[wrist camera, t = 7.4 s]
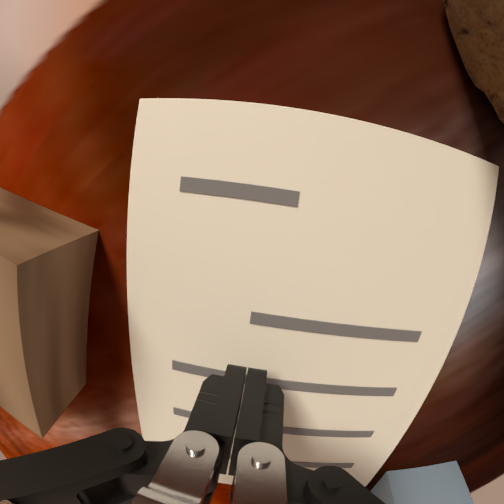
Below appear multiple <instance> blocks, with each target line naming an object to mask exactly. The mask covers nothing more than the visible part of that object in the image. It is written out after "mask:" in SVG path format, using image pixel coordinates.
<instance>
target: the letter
mask: <svg viewBox="0 0 504 504" xmlns="http://www.w3.org/2000/svg"><path fill="white" fill-rule="evenodd" d="M498 173H499V166H497V165H495V164H492V163H490V162H488V161H485V160H483V159H480V158H478V157H475V156H473V155H470V154H468V153H465V152H463V151H460V150H457V149H455V148H452V147H449V146H446V145H443V144H441V143H438V142H435V141H432V140H429V139H426V138H422V137H419V136H416V135H413V134H409V133H406V132H403V131H399V130H395V129H392V128H388V127H384V126H381V125H377V124H373V123H369V122H364V121H360V120H356V119H351V118H347V117H342V116H337V115H332V114H327V113H321V112H316V111H310V110H304V109H298V108H291V107H284V106H276V105H268V104H260V103H250V102H239V101H226V100H210V99H182V98H149V99H140V101H139V107H138V114H137V120H136V128H135V135H134V144H133V152H132V162H131V173H130V186H129V201H128V221H127V301H128V321H129V336H130V348H131V359H132V369H133V378H134V386H135V393H136V401H137V407H138V414H139V420H140V426H141V432H142V437H143V439H144V441H169V440H172V439H174V438H175V437H176V436H177V435H179V434H181V433H182V432H183V431H184V429H185V427H186V425H187V422H188V419H189V417H190V414H191V412H192V409H193V406H194V404H195V401H196V399H197V396H198V393H199V391H200V388H201V386H202V383H203V381H204V380H205V379H206V378H208V377H209V376H210V375H211V374H215V375H220V376H224V375H225V372H226V368H227V365H228V364H232V365H237V366H243V367H247V370H246V376H245V382H246V377H247V372H248V367H249V368H256V369H262V370H267V379H266V383H267V384H274V385H279V386H280V388H281V390H282V392H283V393H284V414H283V415H284V419H283V442H282V447H283V451H284V454H285V455H286V457H287V458H288V459H289V460H290V461H292V462H293V463H295V464H296V465H299V466H301V467H304V468H307V469H310V470H316V469H317V468H319V467H322V466H336V467H340V468H342V469H344V470H346V471H347V472H348V473H349V474H351V475H352V476H353V477H354V478H355V479H356V480H357V481H359V482H360V483H361V484H362V485H363V486H365V487H366V486H367V484H368V483H369V482H370V481H371V479H372V478H373V477H374V476H375V474H376V473H377V472H378V470H379V469H380V468H381V466H382V465H383V464H384V462H385V461H386V460H387V458H388V457H389V455H390V454H391V453H392V451H393V450H394V448H395V447H396V445H397V444H398V442H399V441H400V439H401V438H402V436H403V435H404V433H405V432H406V430H407V429H408V427H409V426H410V424H411V422H412V421H413V419H414V417H415V416H416V414H417V412H418V411H419V409H420V407H421V405H422V404H423V402H424V400H425V398H426V397H427V395H428V393H429V391H430V389H431V387H432V385H433V384H434V382H435V380H436V378H437V376H438V374H439V372H440V370H441V368H442V365H443V363H444V361H445V359H446V357H447V355H448V353H449V350H450V348H451V346H452V344H453V341H454V339H455V336H456V334H457V332H458V329H459V327H460V324H461V322H462V319H463V316H464V314H465V311H466V308H467V305H468V303H469V300H470V297H471V294H472V291H473V288H474V285H475V281H476V278H477V275H478V271H479V268H480V264H481V261H482V257H483V253H484V249H485V245H486V241H487V237H488V232H489V228H490V223H491V218H492V213H493V207H494V201H495V195H496V188H497V181H498ZM245 382H244V387H245ZM243 392H244V388H243ZM242 397H243V394H242ZM241 402H242V400H241ZM240 407H241V406H240ZM239 412H240V411H239ZM238 417H239V416H238ZM237 422H238V420H237ZM236 427H237V425H236ZM235 432H236V430H235ZM234 436H235V435H234ZM233 442H234V440H233ZM232 448H233V444H232ZM231 454H232V449H231ZM231 454H230V459H229V463H228V468H227V473H226V475H225V474H220V475H219V479H218V482H219V483H224V484H230V485H232V482H233V477H234V476H231V475H228V472H229V466H230V460H231Z"/></svg>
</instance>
